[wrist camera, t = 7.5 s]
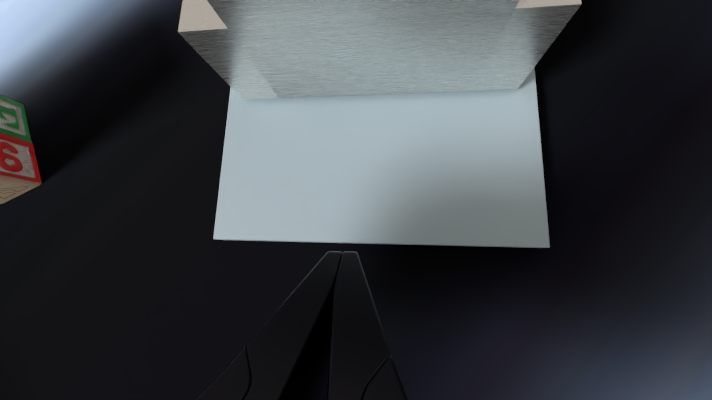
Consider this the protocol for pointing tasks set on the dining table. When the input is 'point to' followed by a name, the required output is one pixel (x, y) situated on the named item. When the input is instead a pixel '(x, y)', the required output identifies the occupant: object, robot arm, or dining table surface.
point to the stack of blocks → (16, 152)
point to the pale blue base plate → (386, 169)
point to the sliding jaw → (372, 44)
